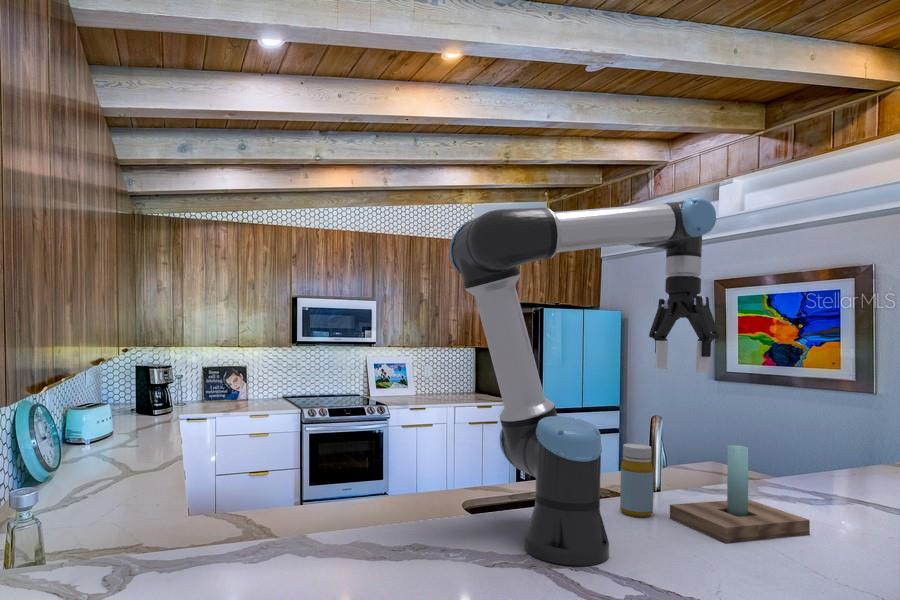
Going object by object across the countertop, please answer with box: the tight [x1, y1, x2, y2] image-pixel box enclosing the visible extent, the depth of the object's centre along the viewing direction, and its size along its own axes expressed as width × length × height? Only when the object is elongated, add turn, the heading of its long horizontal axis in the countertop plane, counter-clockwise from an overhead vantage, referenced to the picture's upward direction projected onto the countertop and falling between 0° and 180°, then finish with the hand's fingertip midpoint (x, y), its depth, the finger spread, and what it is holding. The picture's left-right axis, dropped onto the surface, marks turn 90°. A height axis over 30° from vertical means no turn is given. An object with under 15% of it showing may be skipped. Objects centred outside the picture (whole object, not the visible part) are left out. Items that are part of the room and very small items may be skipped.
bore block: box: [669, 498, 811, 544], centre depth 126 cm, size 22×16×3 cm
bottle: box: [619, 443, 654, 518], centre depth 133 cm, size 7×7×15 cm
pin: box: [726, 444, 749, 517], centre depth 126 cm, size 4×4×16 cm
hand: (680, 370), depth 132 cm, fingers open, 13 cm apart
